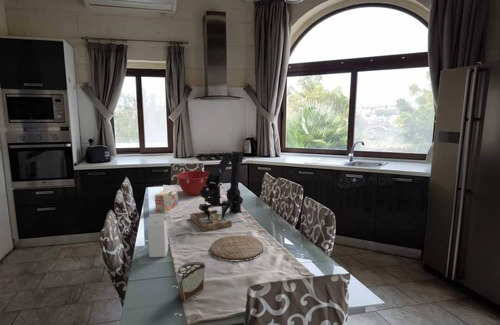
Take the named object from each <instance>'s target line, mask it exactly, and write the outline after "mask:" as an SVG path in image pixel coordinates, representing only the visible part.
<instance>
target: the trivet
mask: <svg viewBox="0 0 500 325" xmlns="http://www.w3.org/2000/svg"><path fill="white" fill-rule="evenodd" d="M211 252H212V253H211ZM263 252H264V244H263V242H262V241H261V240H259V239H257V238H255V237H252V236H248V235H247V236H246V235H229V236H224V237H221V238H218V239H216V240H214V241H213V242H212V243H211V245H210V253H211V254H212V256H213V257H215V256H216V257H215V258H217V257H218V258H217V259H219V258H221V259H220V260H222V259H227V260H245V261H247V260H246V259H250V258H253V259H255V258H254V257H256V256H258V255H259V256H261V255H262V254H263ZM260 254H261V255H260ZM259 256H258V257H259ZM256 258H257V257H256ZM227 260H226V261H227ZM250 260H251V259H250Z"/></svg>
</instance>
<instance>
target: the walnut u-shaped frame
mask: <svg viewBox="0 0 500 325" xmlns="http://www.w3.org/2000/svg"><path fill="white" fill-rule="evenodd" d="M209 211H210V214H216V213H218V210H217V209H212V210H209ZM189 216H190V220H191V221H192V222H193V223H195V225H196V226H197V227H198V228H200V230H201V229H202V230H203V232H206V231H205V230H207V231H211V229H213V230H217V228H218V229H222V228H223V229H225V228H228V227H232V224H233V223H232V221H231V220H229V221H225V220H224V221H221V222H217V223H213V222H211V223H207V224H205V223H204V222H202V220H200V217H201V218H206V213H205V212H204V211H199V212H191V213H190V215H189ZM202 230H201V231H202Z"/></svg>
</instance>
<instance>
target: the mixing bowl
mask: <svg viewBox="0 0 500 325" xmlns="http://www.w3.org/2000/svg"><path fill="white" fill-rule="evenodd" d="M210 173H211V171H210V172H209V171H201V170H194V171H192V170H191V171H184V172H180V173H178V174H176V175H175V176H176V179H177V183H178V184H179V186H180V188H181V190H182V192H183V193H185V194H186V195H188V194H189V196H197V195H198V194H200V191H201V189H202V188H203V186H206V185H205V183H206V180H207V178H208V175H209V174H210ZM209 183H211V182H209ZM200 195H201V194H200ZM198 196H199V195H198Z"/></svg>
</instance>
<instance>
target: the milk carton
mask: <svg viewBox="0 0 500 325" xmlns="http://www.w3.org/2000/svg"><path fill="white" fill-rule="evenodd" d="M168 234H169V233H168V219H167V217H166V213H153V214H151V213H150V214H148V221H147V236H148V252H149V253H148V255H149V258H162V257H163V258H165V257H166V256H167V253H168V252H169V241H168V240H169V238H168V236H169V235H168Z"/></svg>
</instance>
